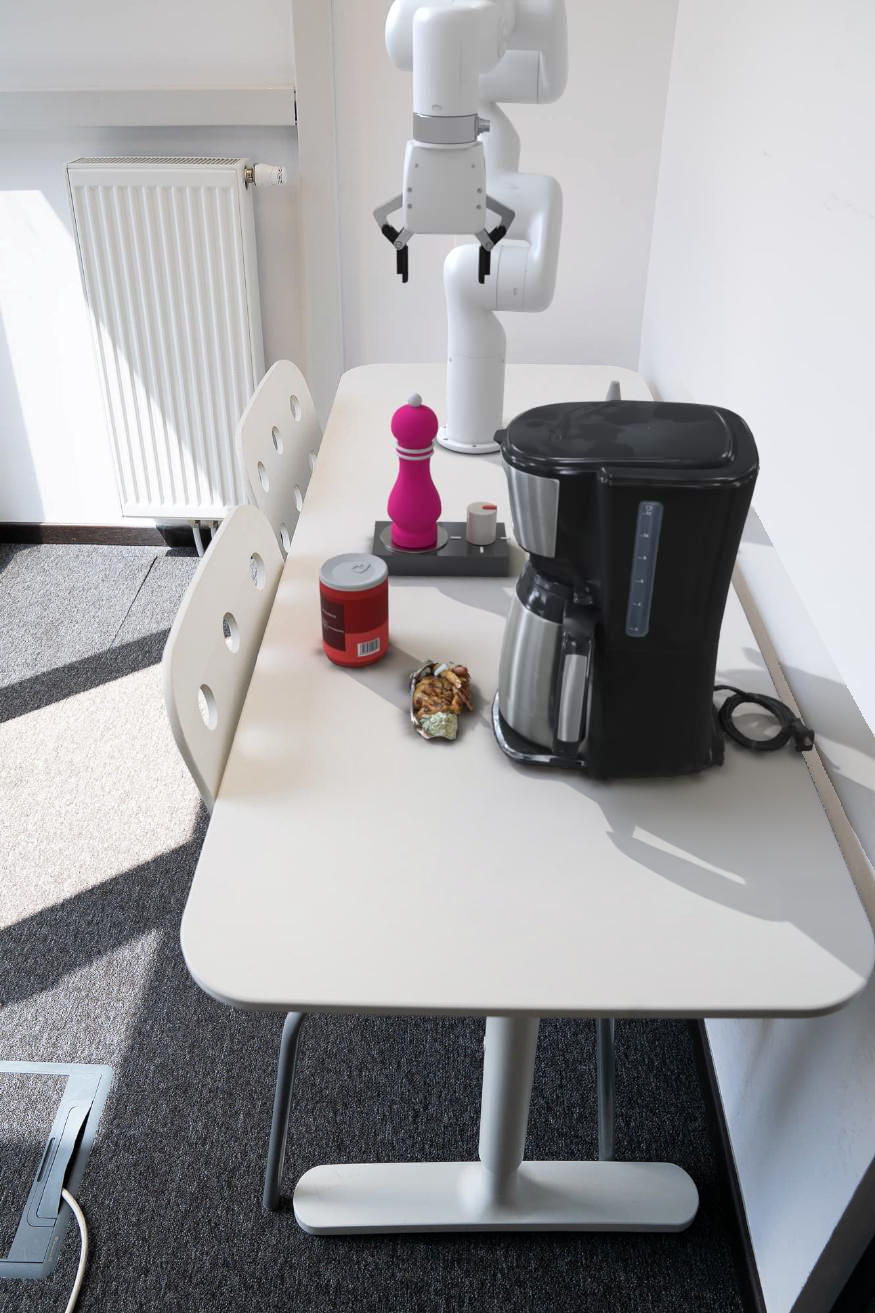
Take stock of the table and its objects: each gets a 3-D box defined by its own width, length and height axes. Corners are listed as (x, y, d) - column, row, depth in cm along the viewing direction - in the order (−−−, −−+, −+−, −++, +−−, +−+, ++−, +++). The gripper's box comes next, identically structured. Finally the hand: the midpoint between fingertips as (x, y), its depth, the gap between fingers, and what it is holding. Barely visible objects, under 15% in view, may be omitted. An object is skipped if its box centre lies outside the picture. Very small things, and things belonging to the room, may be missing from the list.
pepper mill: (385, 526, 141) (383, 384, 130) (437, 524, 141) (440, 382, 130) (389, 551, 135) (387, 404, 124) (444, 549, 136) (447, 402, 124)
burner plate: (381, 522, 143) (381, 520, 142) (447, 522, 143) (447, 520, 142) (378, 553, 135) (378, 551, 135) (448, 554, 135) (448, 552, 135)
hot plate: (372, 575, 136) (371, 553, 134) (375, 539, 145) (375, 519, 143) (512, 576, 136) (513, 555, 135) (507, 541, 145) (508, 521, 143)
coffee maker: (461, 681, 116) (471, 392, 97) (719, 643, 124) (775, 368, 105) (527, 815, 98) (555, 492, 79) (825, 762, 105) (915, 454, 87)
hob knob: (466, 545, 137) (467, 512, 134) (465, 531, 140) (466, 499, 138) (496, 545, 137) (498, 512, 135) (494, 531, 141) (496, 499, 138)
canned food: (398, 638, 123) (398, 558, 117) (373, 674, 117) (371, 591, 111) (340, 626, 125) (336, 547, 119) (312, 661, 119) (307, 579, 113)
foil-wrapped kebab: (409, 742, 107) (409, 714, 105) (408, 675, 117) (408, 649, 115) (476, 741, 107) (478, 713, 105) (469, 675, 117) (470, 649, 115)
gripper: (517, 125, 123) (510, 273, 133) (372, 123, 123) (376, 271, 133) (521, 136, 117) (513, 289, 127) (369, 134, 117) (373, 288, 127)
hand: (443, 280), depth 130 cm, fingers open, 9 cm apart
